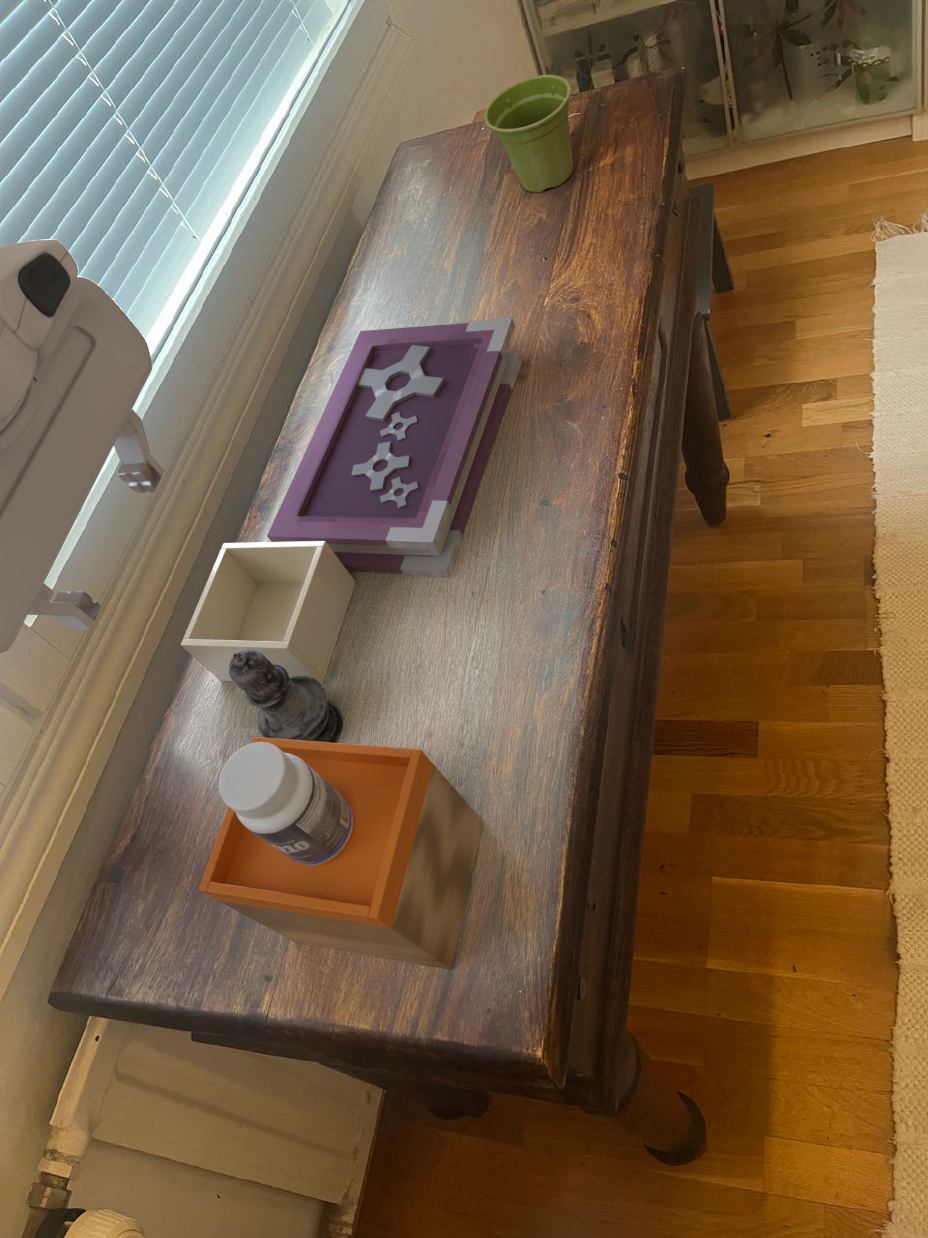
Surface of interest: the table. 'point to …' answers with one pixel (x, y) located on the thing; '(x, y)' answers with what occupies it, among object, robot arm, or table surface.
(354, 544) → the book
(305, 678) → the chess bishop
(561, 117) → the plant pot
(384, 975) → the table surface
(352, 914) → the amber tray
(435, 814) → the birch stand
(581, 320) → the table surface
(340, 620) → the cream bin
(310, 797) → the pill bottle
